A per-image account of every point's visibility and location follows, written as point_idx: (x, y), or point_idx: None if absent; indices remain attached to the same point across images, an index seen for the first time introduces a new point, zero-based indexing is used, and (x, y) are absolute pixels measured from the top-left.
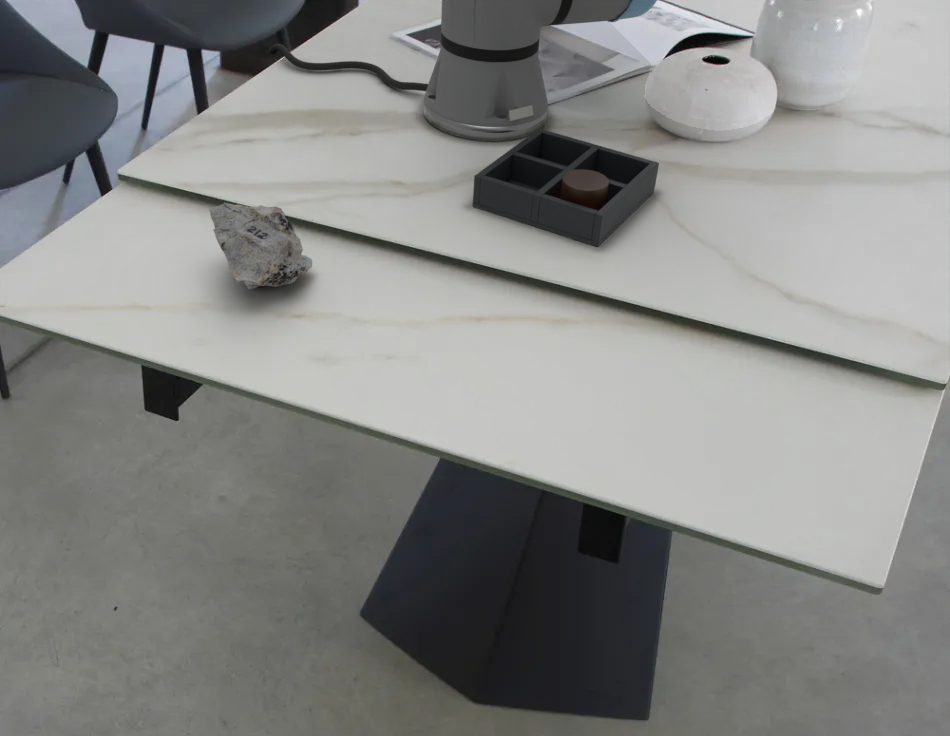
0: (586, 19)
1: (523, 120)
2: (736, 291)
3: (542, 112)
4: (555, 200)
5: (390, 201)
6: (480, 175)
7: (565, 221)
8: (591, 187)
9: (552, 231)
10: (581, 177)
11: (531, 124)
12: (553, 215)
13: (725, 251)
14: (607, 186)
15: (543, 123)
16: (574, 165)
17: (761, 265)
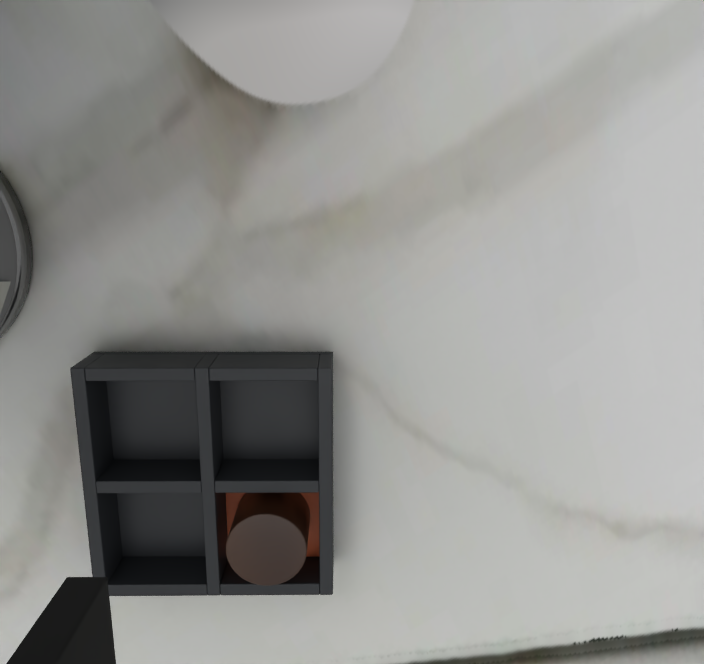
0: None
1: (6, 303)
2: (549, 557)
3: (11, 239)
4: (246, 592)
5: (7, 615)
6: None
7: None
8: (287, 569)
9: None
10: (256, 549)
11: (20, 280)
12: None
13: (503, 465)
14: (306, 545)
15: (24, 229)
16: (208, 469)
17: (563, 472)
